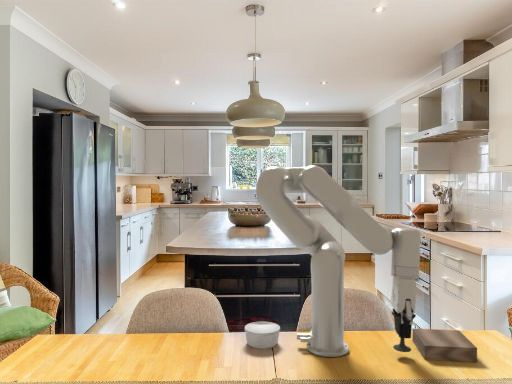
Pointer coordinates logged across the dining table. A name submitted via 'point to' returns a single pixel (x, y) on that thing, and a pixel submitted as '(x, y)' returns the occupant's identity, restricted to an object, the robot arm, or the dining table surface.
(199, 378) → the dining table surface
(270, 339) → the ramekin
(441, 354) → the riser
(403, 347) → the sundae
